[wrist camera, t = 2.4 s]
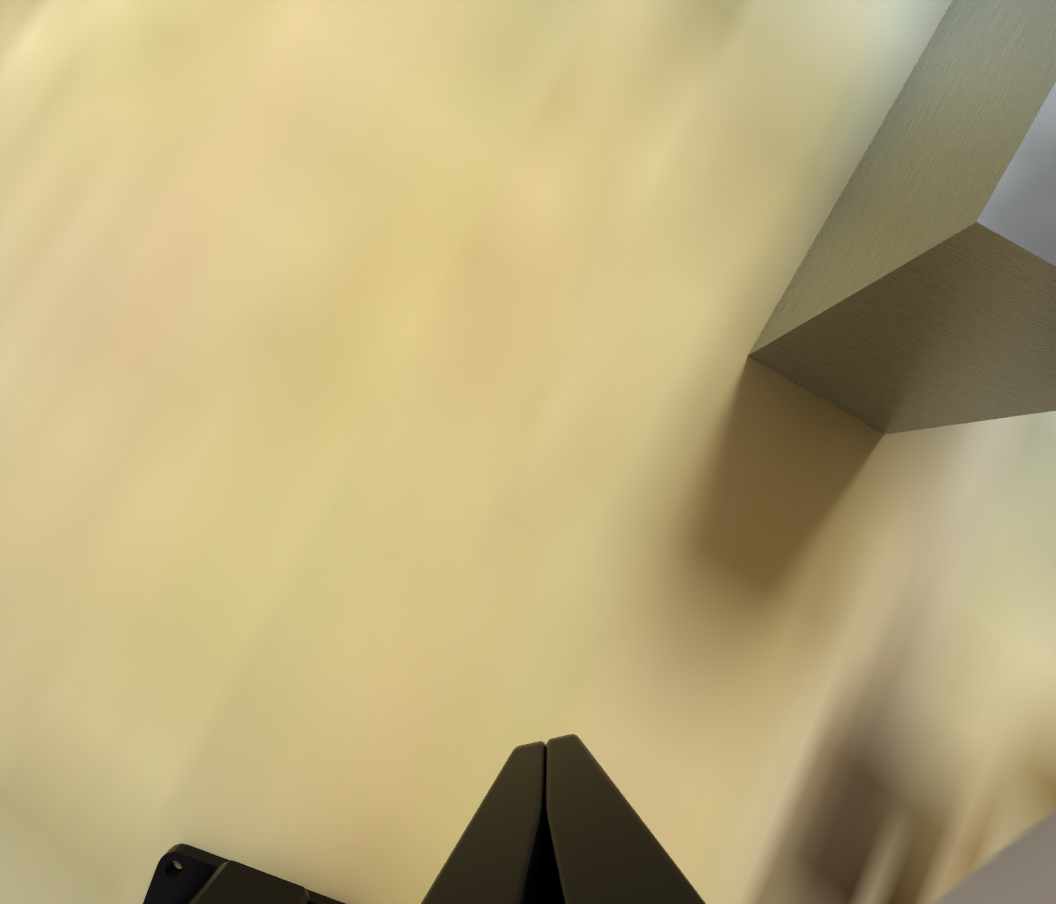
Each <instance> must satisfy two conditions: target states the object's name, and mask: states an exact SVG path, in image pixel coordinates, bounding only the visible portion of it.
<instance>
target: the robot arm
mask: <svg viewBox="0 0 1056 904" xmlns="http://www.w3.org/2000/svg"><path fill="white" fill-rule="evenodd" d="M173 860H176V861H178V862H179V863H181V866H182V869H178V868H176V867H175V866H174V863H173ZM143 904H345V903H342V902H339V901H337V900H334V899H331V898H329V897H326V896H323V895H321V894H318V893H315V892H313V891H310V890H307V889H305V888H304V887H302V886H299V885H297V884H294V883H291V882H289V881H286V880H283V879H281V878H278V877H275V876H273V875H270V874H267V873H265V872H262V871H259V870H257V869H254V868H251V867H249V866H246V865H243V864H241V863H238V862H235V861H230V860H227V859H224V858H222V857H219V856H216V855H214V854H211V853H208V852H206V851H203V850H200V849H198V848H195V847H192V846H189V845H186V844H178V845H175V846H173V847H172V848H171V849H169V850H168V852H167V853H166V854H165V855H164V856H163V857H162V858H161V859H160V861H159V863H158V865H157V868H156V870H155V873H154V876H153V878H152V881H151V884H150V886H149V889H148V892H147V894H146V897H145V900H144V902H143ZM421 904H706V903H705V902H704V900H703V899H702V898H701V897H700V895H699V894H698V893H697V891H696V890H695V889H694V887H693V886H692V885H691V884H690V882H689V881H688V880H687V878H686V877H685V876H684V874H683V873H682V872H681V870H680V869H679V868H678V867H677V865H676V864H675V863H674V861H673V860H672V859H671V857H670V856H669V855H668V853H667V852H666V851H665V850H664V848H663V847H662V846H661V844H660V843H659V842H658V840H657V839H656V838H655V836H654V835H653V834H652V833H651V831H650V830H649V829H648V827H647V826H646V825H645V823H644V822H643V821H642V819H641V818H640V817H639V816H638V814H637V813H636V812H635V810H634V809H633V808H632V806H631V805H630V804H629V802H628V801H627V800H626V799H625V797H624V796H623V795H622V793H621V792H620V791H619V789H618V788H617V787H616V785H615V784H614V783H613V782H612V780H611V779H610V778H609V776H608V775H607V774H606V772H605V771H604V770H603V768H602V767H601V766H600V765H599V763H598V762H597V761H596V759H595V758H594V757H593V755H592V754H591V753H590V752H589V750H588V749H587V748H586V746H585V745H584V744H583V742H582V741H581V740H580V738H579V737H578V736H577V735H575V734H570V735H566V736H561V737H557V738H552V739H550V740H549V741H548V742H547V744H545V743H544V742H542V741H539V742H534V743H530V744H526V745H521V746H518V747H516V748H515V749H514V750H513V751H512V753H511V755H510V756H509V758H508V760H507V761H506V763H505V765H504V766H503V768H502V770H501V771H500V773H499V775H498V776H497V778H496V780H495V781H494V783H493V785H492V786H491V788H490V790H489V791H488V793H487V795H486V796H485V798H484V800H483V801H482V803H481V805H480V806H479V808H478V810H477V811H476V813H475V815H474V816H473V818H472V820H471V821H470V823H469V825H468V826H467V828H466V830H465V831H464V833H463V835H462V836H461V838H460V840H459V841H458V843H457V845H456V846H455V848H454V849H453V851H452V853H451V854H450V856H449V858H448V859H447V861H446V863H445V864H444V866H443V868H442V869H441V871H440V873H439V874H438V876H437V878H436V879H435V881H434V883H433V884H432V886H431V888H430V889H429V891H428V893H427V894H426V896H425V898H424V899H423V901H422V903H421Z"/></svg>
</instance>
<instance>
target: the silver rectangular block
mask: <svg viewBox="0 0 1056 904" xmlns="http://www.w3.org/2000/svg"><path fill="white" fill-rule="evenodd" d="M748 356H750V357H751V358H753V359H755V360H756V361H758V362H760V363H762V364H763V365H765V366H767V367H769V368H770V369H772V370H774V371H776V372H777V373H779V374H781V375H782V376H784V377H786V378H788V379H789V380H791V381H793V382H795V383H796V384H798V385H800V386H802V387H803V388H805V389H807V390H809V391H810V392H812V393H814V394H815V395H817V396H819V397H821V398H822V399H824V400H826V401H828V402H829V403H831V404H833V405H835V406H836V407H838V408H840V409H841V410H843V411H845V412H847V413H848V414H850V415H852V416H854V417H855V418H857V419H859V420H861V421H862V422H864V423H866V424H867V425H869V426H871V427H873V428H874V429H876V430H878V431H880V432H881V433H883V434H889V433H897V432H904V431H911V430H918V429H926V428H933V427H940V426H947V425H955V424H962V423H969V422H976V421H983V420H991V419H998V418H1005V417H1012V416H1020V415H1027V414H1034V413H1041V412H1048V411H1056V0H953V2H952V3H951V5H950V7H949V9H948V10H947V12H946V14H945V16H944V17H943V19H942V21H941V22H940V24H939V26H938V28H937V29H936V31H935V33H934V35H933V36H932V38H931V40H930V42H929V43H928V45H927V47H926V48H925V50H924V52H923V54H922V55H921V57H920V59H919V61H918V62H917V64H916V66H915V67H914V69H913V71H912V73H911V74H910V76H909V78H908V80H907V81H906V83H905V85H904V87H903V88H902V90H901V92H900V93H899V95H898V97H897V99H896V100H895V102H894V104H893V106H892V107H891V109H890V111H889V112H888V114H887V116H886V118H885V119H884V121H883V123H882V125H881V126H880V128H879V130H878V132H877V133H876V135H875V137H874V138H873V140H872V142H871V144H870V145H869V147H868V149H867V151H866V152H865V154H864V156H863V158H862V159H861V161H860V163H859V164H858V166H857V168H856V170H855V171H854V173H853V175H852V177H851V178H850V180H849V182H848V183H847V185H846V187H845V189H844V190H843V192H842V194H841V196H840V197H839V199H838V201H837V203H836V204H835V206H834V208H833V209H832V211H831V213H830V215H829V216H828V218H827V220H826V222H825V223H824V225H823V227H822V228H821V230H820V232H819V234H818V235H817V237H816V239H815V241H814V242H813V244H812V246H811V248H810V249H809V251H808V253H807V254H806V256H805V258H804V260H803V261H802V263H801V265H800V267H799V268H798V270H797V272H796V273H795V275H794V277H793V279H792V280H791V282H790V284H789V286H788V287H787V289H786V291H785V293H784V294H783V296H782V298H781V299H780V301H779V303H778V305H777V306H776V308H775V310H774V312H773V313H772V315H771V317H770V318H769V320H768V322H767V324H766V325H765V327H764V329H763V331H762V332H761V334H760V336H759V338H758V339H757V341H756V343H755V344H754V346H753V348H752V350H751V351H750V353H749V355H748Z"/></svg>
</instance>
